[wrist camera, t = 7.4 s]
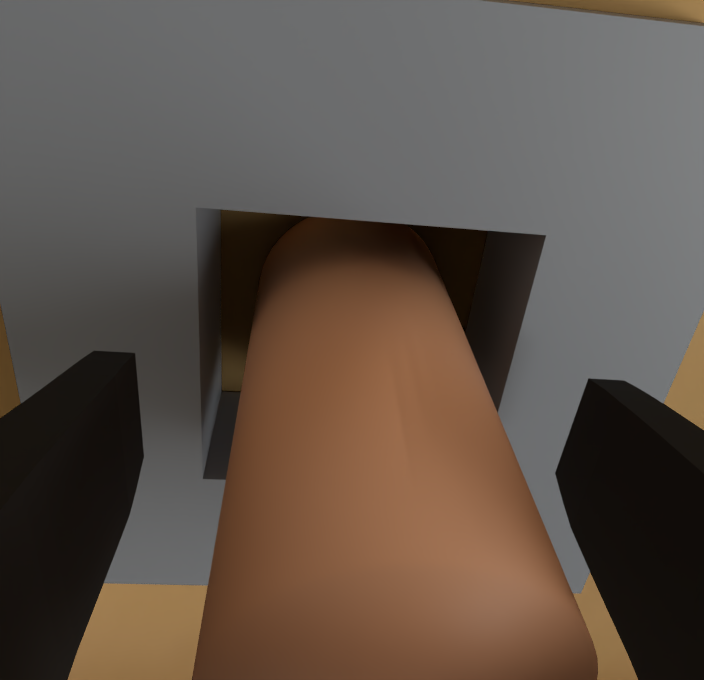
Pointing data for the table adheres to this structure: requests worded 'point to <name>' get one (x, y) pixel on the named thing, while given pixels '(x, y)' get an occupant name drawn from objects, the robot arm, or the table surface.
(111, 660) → the table surface
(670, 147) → the socket board
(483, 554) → the peg
